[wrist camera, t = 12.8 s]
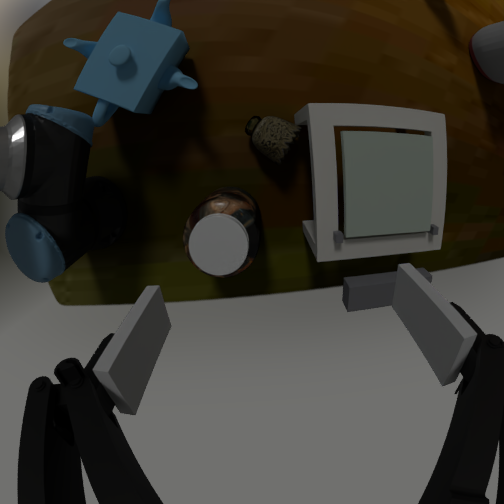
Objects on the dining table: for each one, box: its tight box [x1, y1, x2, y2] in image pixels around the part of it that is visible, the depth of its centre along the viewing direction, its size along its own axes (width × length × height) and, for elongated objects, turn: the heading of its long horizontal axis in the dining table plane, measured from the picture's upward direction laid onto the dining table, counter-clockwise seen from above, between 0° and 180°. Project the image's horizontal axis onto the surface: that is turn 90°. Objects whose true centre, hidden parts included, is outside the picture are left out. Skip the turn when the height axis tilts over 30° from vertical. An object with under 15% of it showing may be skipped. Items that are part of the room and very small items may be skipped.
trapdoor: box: [341, 131, 433, 312], centre depth 33 cm, size 24×14×4 cm, turn 6°
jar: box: [183, 187, 261, 277], centre depth 43 cm, size 12×12×15 cm
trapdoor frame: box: [294, 103, 447, 262], centre depth 39 cm, size 22×22×16 cm
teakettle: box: [63, 0, 198, 127], centre depth 32 cm, size 19×19×15 cm
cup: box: [245, 116, 302, 165], centre depth 42 cm, size 8×7×8 cm
